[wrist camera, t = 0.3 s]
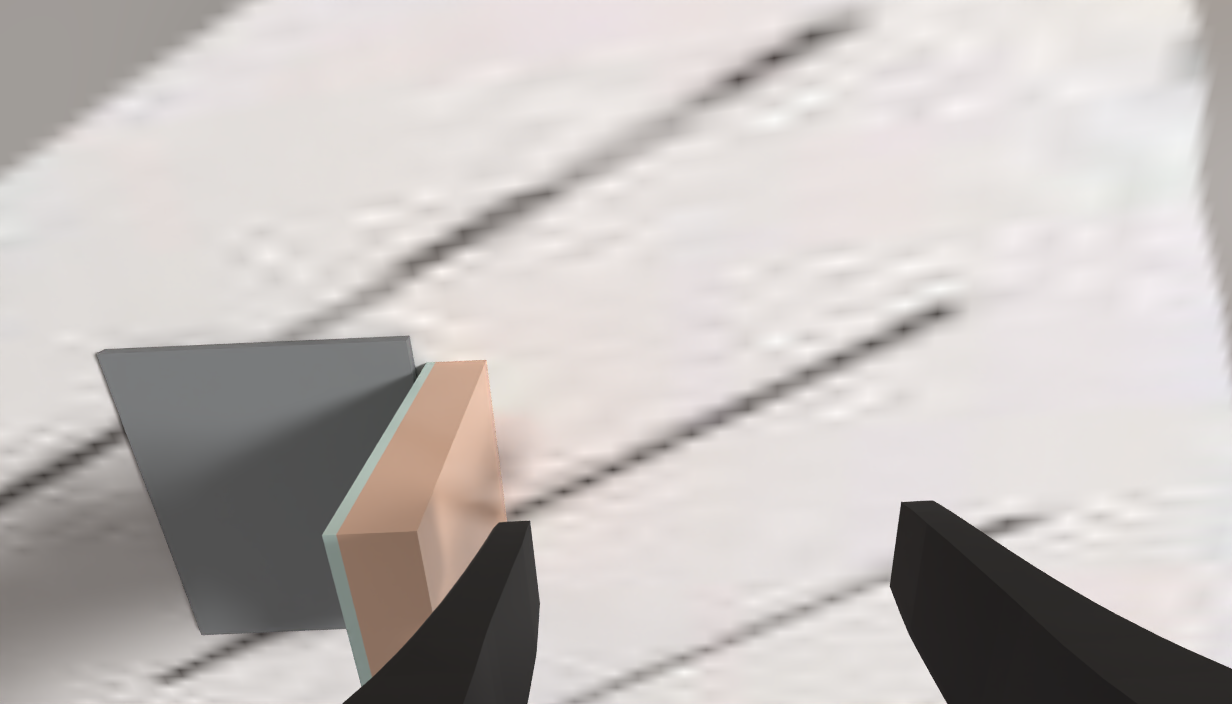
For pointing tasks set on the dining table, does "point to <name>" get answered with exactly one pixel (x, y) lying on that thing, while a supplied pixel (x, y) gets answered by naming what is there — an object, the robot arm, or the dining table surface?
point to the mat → (256, 464)
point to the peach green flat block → (416, 511)
